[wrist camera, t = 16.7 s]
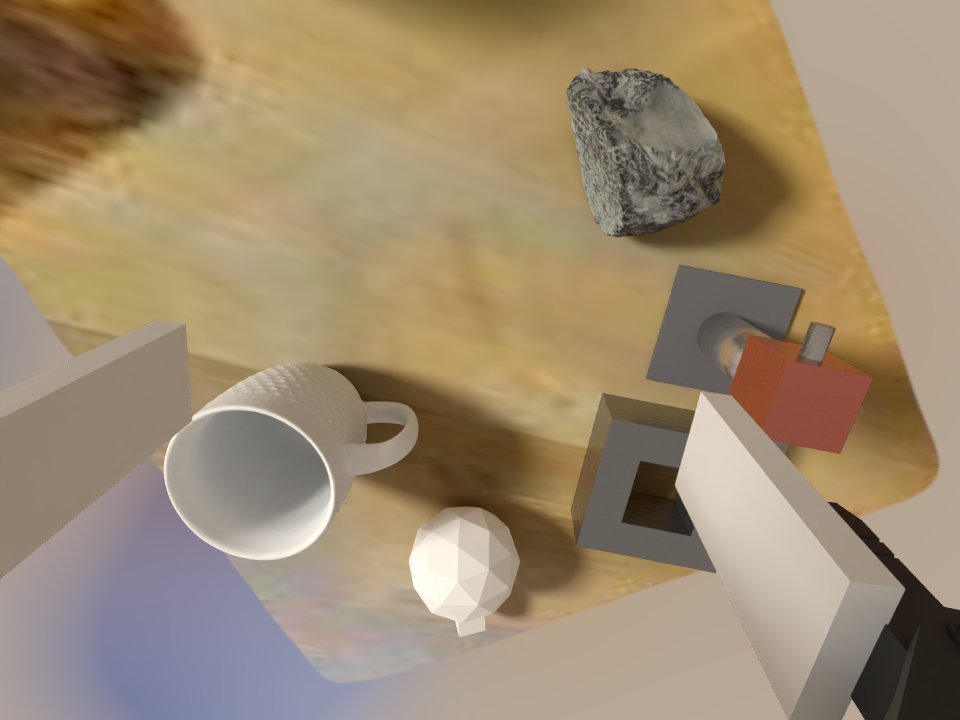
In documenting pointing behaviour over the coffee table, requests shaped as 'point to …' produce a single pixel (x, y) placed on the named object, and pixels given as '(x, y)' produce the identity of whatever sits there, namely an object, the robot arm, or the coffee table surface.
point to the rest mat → (698, 301)
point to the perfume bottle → (464, 565)
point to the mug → (278, 459)
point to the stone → (642, 151)
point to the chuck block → (610, 476)
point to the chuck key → (787, 382)
